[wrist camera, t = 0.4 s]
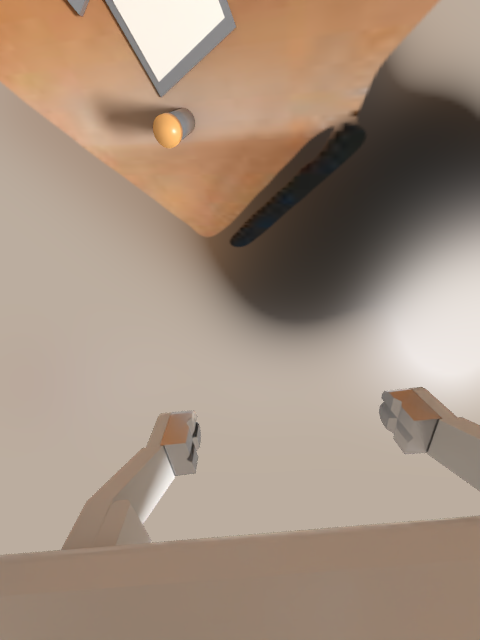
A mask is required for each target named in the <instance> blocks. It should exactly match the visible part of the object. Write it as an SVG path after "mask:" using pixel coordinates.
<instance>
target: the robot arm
mask: <svg viewBox="0 0 480 640" xmlns="http://www.w3.org/2000/svg"><path fill="white" fill-rule="evenodd" d="M382 399H383V401H384V402H383V403H382V404H381V405H380V409H379V414H380V419H381V421H382V423H383V425H384V426H385V427H386V429H387V430H389V431H391V432H392V433H394V440H395V442H396V443H397V444H398V446H399V447H400V448H401V450H402V451H403V452H404V454H415V453H427V454H428V455H429V456H431V457H432V458H434V459H435V460H436V461H438V462H439V463H441V464H442V465H444V466H445V467H446V468H448V469H449V470H450V471H452V472H453V473H455V474H456V475H458V476H459V477H460V478H462V479H463V480H465V481H466V482H467V483H469V484H470V485H472V486H473V487H474V488H476V489H477V490H479V491H480V425H478V424H476V423H473V422H471V421H469V420H467V419H465V418H462V417H456V416H455V415H454V414H453V413H452V412H451V411H450V410H449V409H447V408H446V407H445V406H444V405H443V404H442V403H441V402H440V401H439V400H438V399H436V398H435V397H434V396H433V395H432V394H431V393H430V392H429V391H427V390H426V389H425V388H423V387H417V388H409V389H398V390H389V391H384V392H383V394H382ZM196 420H197V415H196V412H195V411H181V412H171V413H161V414H160V415H159V416H158V418H157V421H156V423H155V426H154V428H153V431H152V433H151V436H150V438H149V441H148V444H147V446H146V448H142V449H141V450H140V451H139V452H138V453H137V454H136V455H135V456H134V457H133V458H132V459H130V460H129V461H128V463H126V464H125V465H124V466H123V467H122V468H121V469H120V470H119V471H118V472H117V473H116V474H115V475H114V476H113V477H112V478H111V479H110V480H109V481H107V482H106V483H105V484H104V485H103V486H102V487H101V488H100V489H99V490H98V491H97V492H96V493H95V494H94V495H93V496H92V497H91V498H90V499H89V500H88V501H87V502H86V504H85V505H84V507H83V509H82V511H81V513H80V515H79V517H78V519H77V521H76V522H75V524H74V526H73V528H72V530H71V532H70V534H69V536H68V537H67V539H66V541H65V543H64V545H63V547H62V549H61V550H57V551H56V550H55V551H44V552H33V553H32V552H31V553H19V554H6V555H0V640H480V516H470V517H456V518H444V519H431V520H420V521H408V522H394V523H382V524H370V525H358V526H346V527H334V528H321V529H309V530H297V531H285V532H273V533H262V534H249V535H237V536H225V537H212V538H201V539H188V540H176V541H164V542H152V543H151V539H150V537H149V535H148V533H147V532H146V530H145V528H144V526H143V523H144V522H145V520H146V519H147V517H148V516H149V514H150V513H151V511H152V510H153V508H154V507H155V506H156V504H157V503H158V501H159V500H160V498H161V497H162V495H163V494H164V493H165V491H166V490H167V488H168V487H169V485H170V484H171V482H172V481H173V479H174V478H175V476H178V475H186V474H194V473H196V467H197V461H198V455H197V452H196V451H197V449H198V448H199V447H200V441H201V432H200V426H199V424H198V423H197V422H196Z"/></svg>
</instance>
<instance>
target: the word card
mask: <svg viewBox="0 0 480 640" xmlns="http://www.w3.org/2000/svg"><path fill="white" fill-rule="evenodd" d="M68 2H69V3H70V4H71V5H72V7H73V8H74V9H75V11H76V12H77V13H78V14H79V15H80V16H83V15H84V12H85V10H86V7H87V5H88V2H89V0H68Z"/></svg>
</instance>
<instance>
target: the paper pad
mask: <svg viewBox="0 0 480 640" xmlns="http://www.w3.org/2000/svg"><path fill="white" fill-rule="evenodd" d="M105 1H106V3H107V4H108V6H109V8H110V10H111V11H112V13H113V15H114V17H115V18H116V20H117V22H118V24H119V25H120V27H121V29H122V30H123V32H124V34H125V36H126V37H127V39H128V41H129V43H130V44H131V46H132V48H133V50H134V51H135V53H136V55H137V56H138V58H139V60H140V62H141V63H142V65H143V67H144V69H145V70H146V72H147V74H148V75H149V77H150V79H151V81H152V82H153V84H154V86H155V88H156V89H157V91H158V93H159V95H160V96H161V97H162V96H164V95H165V94H166V93H167V92H168V91H169V90H170V89H171V88H172V87H173V86H174V85H175V84H176V83H177V82H178V81H180V80H181V79H182V78H183V77H184V76H185V75H186V74H187V73H188V72H189V71H190V70H191V69H192V68H193V67H194V66H196V65H197V64H198V63H199V62H200V61H201V60H202V59H203V58H204V57H205V56H206V55H207V54H208V53H209V52H210V51H212V50H213V49H214V48H215V47H216V46H217V45H218V44H219V43H220V42H221V41H222V40H223V39H224V38H225V37H226V36H228V35H229V34H230V33H231V32H232V31H233V30H234V29H235V28H236V25H235V22H234V20H233V17H232V14H231V11H230V8H229V5H228V3H227V0H105Z"/></svg>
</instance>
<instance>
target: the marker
mask: <svg viewBox="0 0 480 640" xmlns="http://www.w3.org/2000/svg"><path fill="white" fill-rule="evenodd" d="M194 127H195V119H194V116H193V114H192V113H191V112H190V111H189V110H188V109H186V108H181V109H178V110H175V111H172V112H169V113H163V114H160V115H158V116H157V117H156V118H155V120H154V123H153V132H154V135H155V138H156V139H157V141H158V142H159V143H160V144H161V145H162V146H163V147H166V148H173V147H175V146H176V145H178V144H179V143H180V141H181V140H182V139H184V138H185V137H186V136H188V135H189V134H190V133H191V132H192V131H193V130H194Z"/></svg>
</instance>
